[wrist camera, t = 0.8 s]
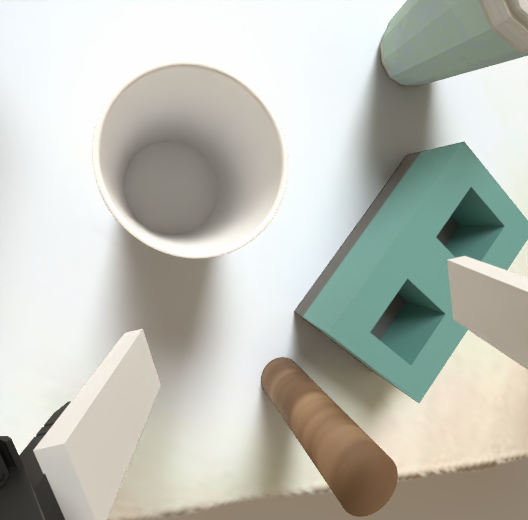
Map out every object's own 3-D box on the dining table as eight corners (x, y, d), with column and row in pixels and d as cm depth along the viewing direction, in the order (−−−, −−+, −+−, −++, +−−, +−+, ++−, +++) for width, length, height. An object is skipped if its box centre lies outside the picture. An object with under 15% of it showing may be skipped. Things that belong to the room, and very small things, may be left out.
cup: (196, 124, 30) (246, 31, 15) (235, 214, 32) (314, 213, 17) (101, 160, 28) (47, 96, 13) (149, 253, 30) (151, 292, 15)
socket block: (294, 311, 35) (328, 333, 28) (407, 154, 37) (464, 141, 30) (372, 371, 39) (419, 403, 32) (471, 226, 41) (534, 228, 34)
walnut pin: (253, 383, 34) (327, 501, 20) (277, 350, 35) (366, 442, 21) (282, 402, 36) (372, 525, 22) (306, 369, 36) (408, 469, 22)
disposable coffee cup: (436, 119, 37) (612, 60, 23) (348, 94, 34) (492, 7, 20) (453, 13, 36) (648, -114, 22) (365, -23, 33) (528, -202, 19)
